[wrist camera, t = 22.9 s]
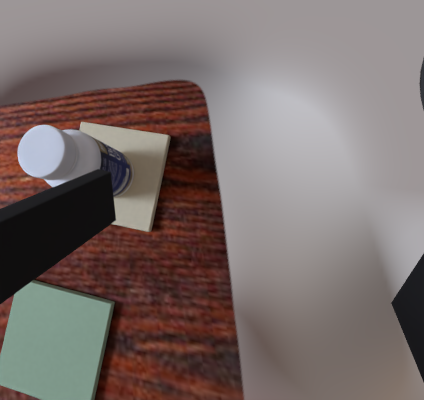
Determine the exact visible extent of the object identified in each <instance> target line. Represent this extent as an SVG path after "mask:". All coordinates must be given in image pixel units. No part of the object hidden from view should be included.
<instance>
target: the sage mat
mask: <svg viewBox="0 0 424 400" xmlns="http://www.w3.org/2000/svg"><path fill="white" fill-rule="evenodd" d="M114 304H115V302H114V301H110V300H107V299H103V298H99V297H96V296H92V295H88V294H84V293H81V292H77V291H73V290H70V289H66V288H62V287H58V286H55V285H51V284H47V283H44V282H40V281H36V280H33V281H32V282H30V283H29V284H27V285H26V286H25V287H23V288H22V289H20V290H19V291H18V292H16V293H15V294H14V299H13V303H12V307H11V312H10V316H9V320H8V325H7V329H6V333H5V338H4V342H3V346H2V351H1V355H0V385H2V386H5V387H7V388H10V389H13V390H16V391H19V392H22V393H25V394H27V395H30V396H33V397H36V398H39V399H42V400H94V399H95V394H96V390H97V385H98V380H99V375H100V371H101V366H102V361H103V357H104V352H105V347H106V342H107V338H108V333H109V328H110V323H111V319H112V314H113V309H114Z"/></svg>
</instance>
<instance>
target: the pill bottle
mask: <svg viewBox="0 0 424 400" xmlns="http://www.w3.org/2000/svg"><path fill="white" fill-rule="evenodd" d="M18 160H19V163H20V166H21V167H22V169H23V170H24V171H25V172H26V173H27V174H29V175H31V176H33V177H37V178H42V179H44V180H45V181H46V182H47V183H48V184H49V185H51V186H52V187H55V186H58V185H60V184H63V183H65V182H67V181H70V180H72V179H75V178H77V177H80V176H82V175H84V174H87V173H89V172H92V171H94V170H97V169H100V170H104V171H108V172H111V178H112V187H113V196H114V197H118V196H120V195H122V194H124V193H125V192H126V191H127V190H128V189H129V188H130V186H131V184H132V182H133V178H134V169H133V165H132V163H131V161H130V160H129V158H128V157H127V156H125V155H124V154H123V153H121V152H119V151H118V150H116V149H114V148H112V147H110V146H108V145H106V144H105V143H103V142H101V141H99V140H97V139H95V138H94V137H92V136H90V135H88V134H86V133H84V132H81V131H78V130H63V131H62V130H59V129H57V128H55V127H53V126H49V125H39V126H36V127H34V128H32V129H30V130H29V131H28V132H27V133H26V134H25V135H24V136H23V138H22V139H21V141H20V144H19V147H18Z"/></svg>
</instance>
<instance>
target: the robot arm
mask: <svg viewBox="0 0 424 400" xmlns="http://www.w3.org/2000/svg"><path fill="white" fill-rule="evenodd" d="M114 221H116V215H115V205H114V196H113V187H112V178H111V172H108V171H104V170H100V169H97V170H94V171H92V172H89V173H87V174H84V175H82V176H80V177H77V178H75V179H72V180H70V181H67V182H65V183H63V184H60V185H58V186H55V187H53V188H50V189H48V190H45V191H43V192H41V193H38V194H36V195H33V196H31V197H28V198H26V199H24V200H21V201H19V202H16V203H14V204H11V205H9V206H6V207H4V208H2V209H0V304H1V303H3V302H4V301H5V300H7V299H8V298H9V297H11V296H12V295H14V294H15V293H16V292H18V291H19V290H20V289H22V288H23V287H25V286H26V285H27V284H29V283H30V282H32V281H33V280H34V279H36V278H37V277H38V276H40V275H41V274H43V273H44V272H45V271H47V270H48V269H49V268H51V267H52V266H54V265H55V264H56V263H58V262H59V261H60V260H62V259H63V258H65V257H66V256H67V255H69V254H70V253H71V252H73V251H74V250H76V249H77V248H78V247H80V246H81V245H83V244H84V243H85V242H87V241H88V240H89V239H91V238H92V237H94V236H95V235H96V234H98V233H99V232H100V231H102V230H103V229H105V228H106V227H107V226H109V225H110V224H111V223H113V222H114ZM392 306H393V308H394V311H395V313H396V315H397V318H398V320H399V323H400V325H401V328H402V330H403V333H404V335H405V338H406V340H407V342H408V345H409V347H410V350H411V352H412V354H413V357H414V359H415V362H416V364H417V367H418V369H419V372H420V374H421V377H422V379H423V382H424V254H423V255H422V257H421V259H420V260H419V262H418V263H417V265H416V266H415V268H414V269H413V271H412V272H411V274H410V275H409V277H408V278H407V280H406V282H405V283H404V284H403V286H402V287H401V289H400V290H399V292H398V294H397V295H396V297H395V298H394V300H393V301H392Z"/></svg>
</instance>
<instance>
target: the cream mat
mask: <svg viewBox="0 0 424 400" xmlns="http://www.w3.org/2000/svg"><path fill="white" fill-rule="evenodd" d="M79 131H81V132H84V133H86V134H88V135H90V136H92V137H94V138H95V139H97V140H99V141H101V142H103V143H105V144H106V145H108V146H110V147H112V148H114V149H116V150H118V151H119V152H121V153H123V154H124V155H125V156H127V157H128V158H129V160H130V161H131V163H132V165H133V169H134V178H133V182H132V184H131V186H130V188H129V189H128V190H127V191H126V192H125V193H124V194H122V195H120V196H118V197H114V205H115V215H116V221H114V222H113V223H111V224H115V225H119V226H124V227H128V228H133V229H137V230H142V231H147V232H151V230H152V226H153V221H154V216H155V211H156V206H157V201H158V197H159V192H160V187H161V182H162V177H163V172H164V168H165V163H166V158H167V153H168V148H169V144H170V139H171V137H170V136H169V135H164V134H158V133H151V132H145V131H138V130H132V129H125V128H119V127H112V126H106V125H99V124H92V123H86V122H81V125H80V130H79Z"/></svg>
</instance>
